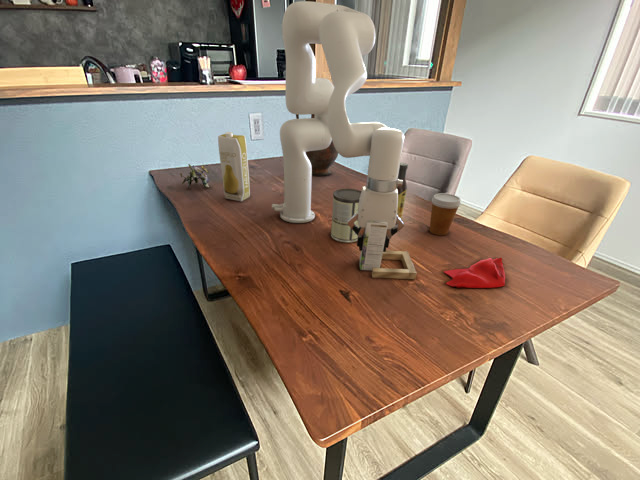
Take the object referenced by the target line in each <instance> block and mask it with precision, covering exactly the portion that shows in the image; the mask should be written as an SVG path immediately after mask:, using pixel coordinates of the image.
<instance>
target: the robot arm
mask: <svg viewBox="0 0 640 480" xmlns="http://www.w3.org/2000/svg"><path fill="white" fill-rule="evenodd" d="M281 32H282V33H281V35H282V42H283V47H284V53H285V95H284V96H285V106H286V109H287V111H288V112H289V113H291V114H292V115H296V114H297V115H300V116H301V115H302V116H304V115H311V114H315V118H311V117H307V118H305V117H304V118H299V119H296V118H293V119H288V120H286V121H284V122H283V123H282V124H281V126H280V129H279V139H280V140H279V141H280V146H281V151H282V160H283V161H282V165H283V203H280V204H279V203H272V204H271V210H274V212H280V213H279V218H280V219H282V220H283V221H285V222H287V223H288V222H289V223H291V224H304V223H309V222H312V221H313V220H314V219H315V217H316V214H315V212H314V211H313V210H312V209H311V208H312V176H313V175H312V166H311V163H310V161H309V159H308V157H307V156H306V152H308V151H315V150H323V149H326V148H327V147H328V146H329V145H330V143H331V141H333V144H334V146H335V149H336V150H337V152H338V155H339V156H341V157H342V158H345V159H350V158H359V157H369V159H368V166H367V175H366V181H365V183H366V184H365V185H364V186H362V189H361V191H362V192H361V195H360V200H359V205H358V212H357V213H356V214H354V215H353V216H352V217H351V218H350V219H349V220H348V221H347V224H348V225H349V226H350V227H351V228H352V229H353V231H354V232H355V233H356V234H357V235H358V239H357V241H356V247H358V248H359V251H360V252H361V250H362V247H363V240H364V237H363V233H364V232H365V228H366V224H367V222H368V221H376V222H385V223H388V226H387V232H386V238H385V243H384V249H383V252H386V251H387V249H389V245H390V241H391V240H390V239H392V237H393V236H394V235H396V234H397V233H398V232H399V231H400V230H402V229H403V228H404V227H405V223H404V222H403V221H402V218H401V219H400V218H399V217H398V215H397V207H398V190H397V187H398V186H402V184H403V180H400V179H398V173H399V167H400V163H401V160H402V155H403V148H404V142H405V134H404V132H403V131H402V130H400V129H397V128H392V127H391V128H390V127H388V126H387V125H385V124H384V123H382V122H379V121H369V122H366V121H365V122H353V123H350V120H349V117H348V113H347V109H346V108H347V107H346V99H347V97H349V96H351V95H352V94H354V93H356V92H357V91H358V90H360V89H361V88H362V87H363V86H364V84H366V82H367V78H368V71H367V69H366V66H365V62H364V59H363V58H364V57H363V56H366V55H368V54H369V53H371V51H372V50H373V49H374V46H375V43H376V36H377V35H376V27H375V24H374V22H373V20H372V18H371V17H370V15H368V14H366V13H365V12H362V11H359V10H356V9H353V8H352V7H351V8H350V7H348V6H345V5H342V4H341V5H340V4H335V3H334V4H333V3H328V2H327V3H326V2H321V1H320V2H319V1H310V0H308V1H307V0H302V1H301V0H300V1H294V2H292V3H290V4H289V5H288V6H287V7H286V9H285V11H284V13H283V17H282V24H281ZM310 44H313V45H314V44H316V45H321V49H322V51H323V54H324V58H325V61H326V64H327V68H328V71H329V74H330V78H331V80H330V79H328V78H325V77H316V66H317V65H316V57H315V54H314V51H313V49H312V46H311V45H310ZM356 220H357V221H358V226H359V228H358V227H357V226H356V225H355V224H354V222H355V221H356Z"/></svg>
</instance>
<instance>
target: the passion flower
mask: <svg viewBox="0 0 640 480" xmlns="http://www.w3.org/2000/svg"><path fill="white" fill-rule="evenodd" d="M188 167H189V168H190V170H191V171H189V172H188V174H189V175H187V176H184V175H183V173H182V172H179V175H180V177H181V178H184V179H183V181H182V183H181V185H184V184H185V183H186V182H187V189H189V188H190V186H191V185H192V183H193V182H194V183H195V184H198V183H199V179H200V180H201V182H202V185H203V186H204V188H207V189H210V186H209V182H210V181H209V180H210V179H209V178H208V177H209V176H208V175H207V174H210V172H209V170H208V169H207V168H206V167H205V165H201V168H199V167H198V166H197V165H193V164H192V165H191V164H190V163H188ZM206 173H207V174H206Z"/></svg>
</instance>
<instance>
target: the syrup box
mask: <svg viewBox="0 0 640 480" xmlns="http://www.w3.org/2000/svg"><path fill="white" fill-rule="evenodd" d="M387 226H388V223H385V222H376V221H368V222H367V224H366V228H365V232H364V233H363V237H364V240H363V247H362V250H361V251H360V254H359V270H360V271H371V272H372V268H381V265H382V260H383V259H382V254H383V249H384V243H385V238H386V232H387Z"/></svg>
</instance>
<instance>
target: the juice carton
mask: <svg viewBox="0 0 640 480" xmlns="http://www.w3.org/2000/svg"><path fill="white" fill-rule="evenodd" d="M217 141H218V142H217V143H218V152H219V153H218V154H219V162H220V169H221V170H220V171H221V179H222V186H223V195H224V198H225V199H227V200H232V201H238V202H244V201H246V200H247V199H248V198H250V196H251V188H250V187H251V186H250V185H251V183H250V171H249V160H248V146H247V139H246V135H244V134H243V135H242V134H234V133H233V132H232V131H226V132H224V133H222V134H220V135H218V136H217Z"/></svg>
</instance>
